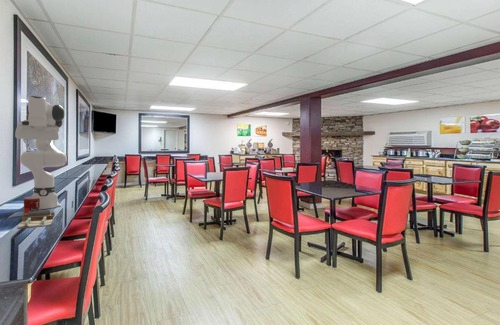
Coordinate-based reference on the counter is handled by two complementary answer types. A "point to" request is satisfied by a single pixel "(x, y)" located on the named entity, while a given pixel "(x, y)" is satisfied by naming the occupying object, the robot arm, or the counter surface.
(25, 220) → the lock board
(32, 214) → the bar
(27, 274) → the counter surface
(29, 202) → the canned food
